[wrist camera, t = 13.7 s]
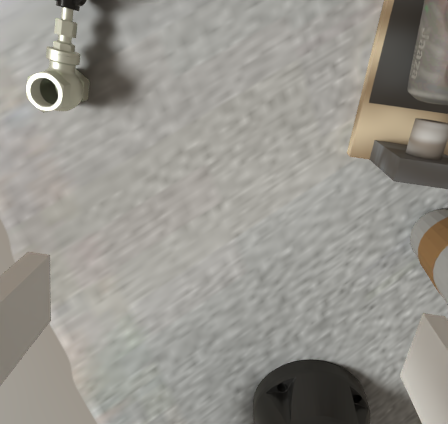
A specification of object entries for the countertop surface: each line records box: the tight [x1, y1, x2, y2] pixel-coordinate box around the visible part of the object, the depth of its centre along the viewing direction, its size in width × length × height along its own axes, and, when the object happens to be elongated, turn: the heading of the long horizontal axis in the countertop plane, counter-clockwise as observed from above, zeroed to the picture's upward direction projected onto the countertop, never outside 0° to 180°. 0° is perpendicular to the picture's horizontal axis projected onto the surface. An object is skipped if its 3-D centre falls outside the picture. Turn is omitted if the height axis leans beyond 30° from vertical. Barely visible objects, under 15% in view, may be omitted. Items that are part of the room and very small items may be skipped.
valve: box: [26, 0, 90, 113], centre depth 39 cm, size 7×7×12 cm
